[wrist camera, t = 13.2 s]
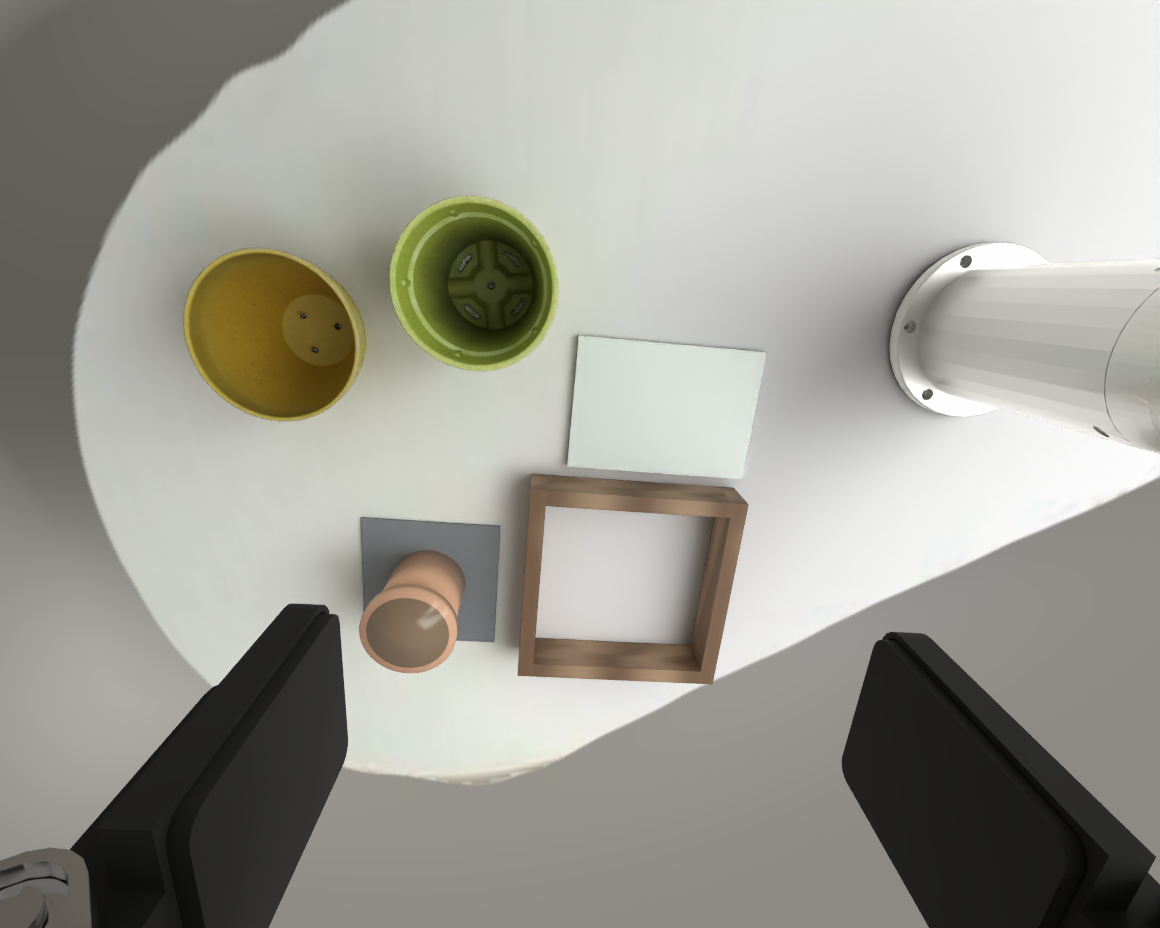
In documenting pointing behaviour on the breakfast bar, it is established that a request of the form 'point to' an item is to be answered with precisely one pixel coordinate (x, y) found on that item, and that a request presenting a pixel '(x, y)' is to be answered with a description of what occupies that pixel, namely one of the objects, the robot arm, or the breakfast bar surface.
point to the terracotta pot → (415, 614)
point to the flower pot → (273, 334)
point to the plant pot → (473, 283)
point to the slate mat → (458, 541)
